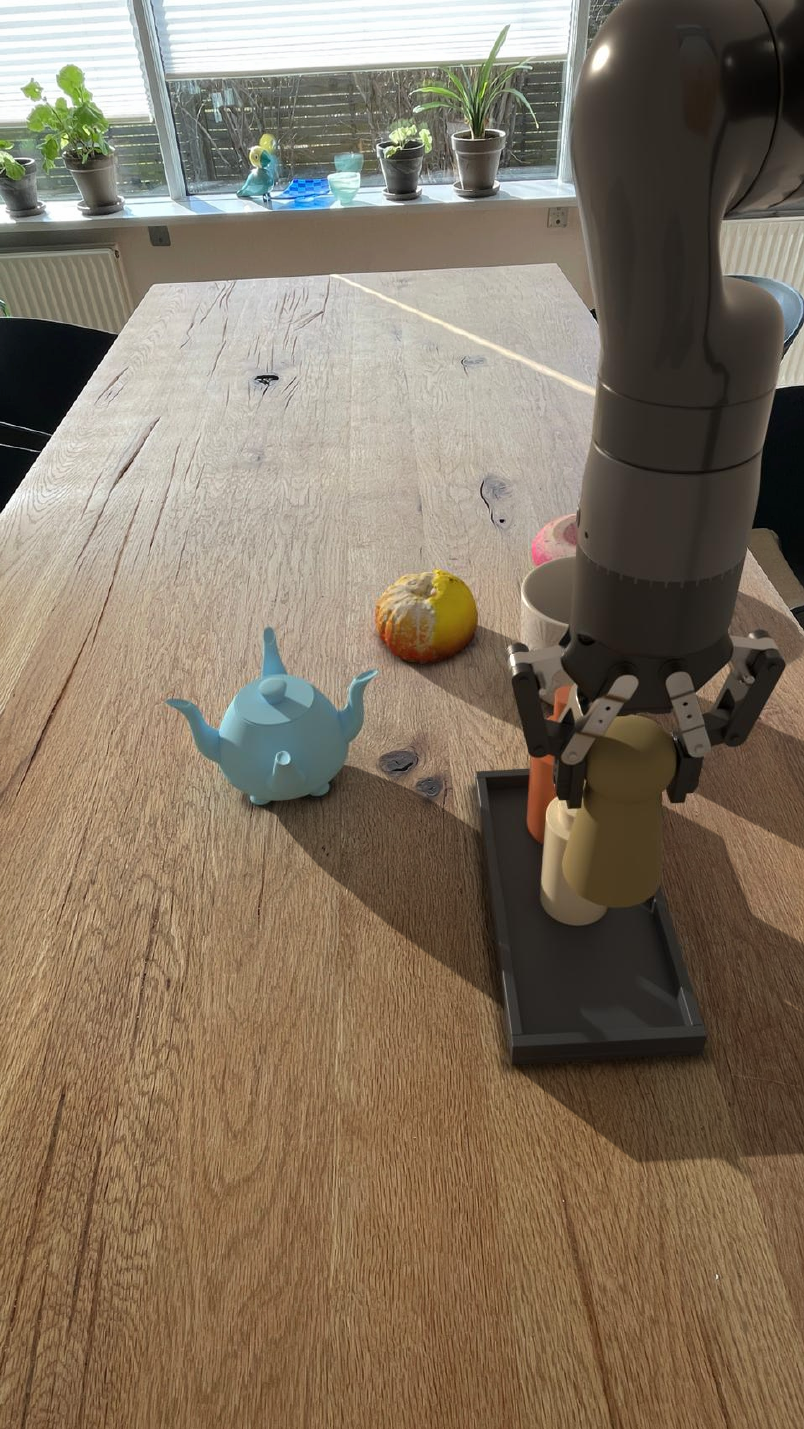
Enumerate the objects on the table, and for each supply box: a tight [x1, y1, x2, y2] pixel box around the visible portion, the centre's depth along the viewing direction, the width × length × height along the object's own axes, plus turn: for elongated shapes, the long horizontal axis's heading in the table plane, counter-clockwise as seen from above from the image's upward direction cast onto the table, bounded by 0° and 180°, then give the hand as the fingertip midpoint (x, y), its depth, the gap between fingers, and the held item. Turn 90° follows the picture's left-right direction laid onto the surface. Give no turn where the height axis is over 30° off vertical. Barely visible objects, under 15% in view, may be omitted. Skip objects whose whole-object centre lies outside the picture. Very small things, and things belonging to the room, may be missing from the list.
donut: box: [531, 512, 578, 568], centre depth 106 cm, size 14×13×5 cm
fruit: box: [374, 568, 479, 665], centre depth 98 cm, size 11×10×8 cm
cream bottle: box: [540, 779, 608, 926], centre depth 67 cm, size 5×5×14 cm
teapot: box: [165, 626, 378, 806], centre depth 81 cm, size 13×13×10 cm
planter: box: [520, 555, 576, 707], centre depth 89 cm, size 12×12×11 cm
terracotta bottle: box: [526, 686, 572, 845], centre depth 73 cm, size 5×5×14 cm
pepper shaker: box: [562, 714, 677, 908], centre depth 54 cm, size 6×6×11 cm
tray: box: [474, 767, 708, 1066], centre depth 72 cm, size 26×13×2 cm, turn 2°
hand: (622, 794), depth 54 cm, fingers closed on pepper shaker, 5 cm apart
